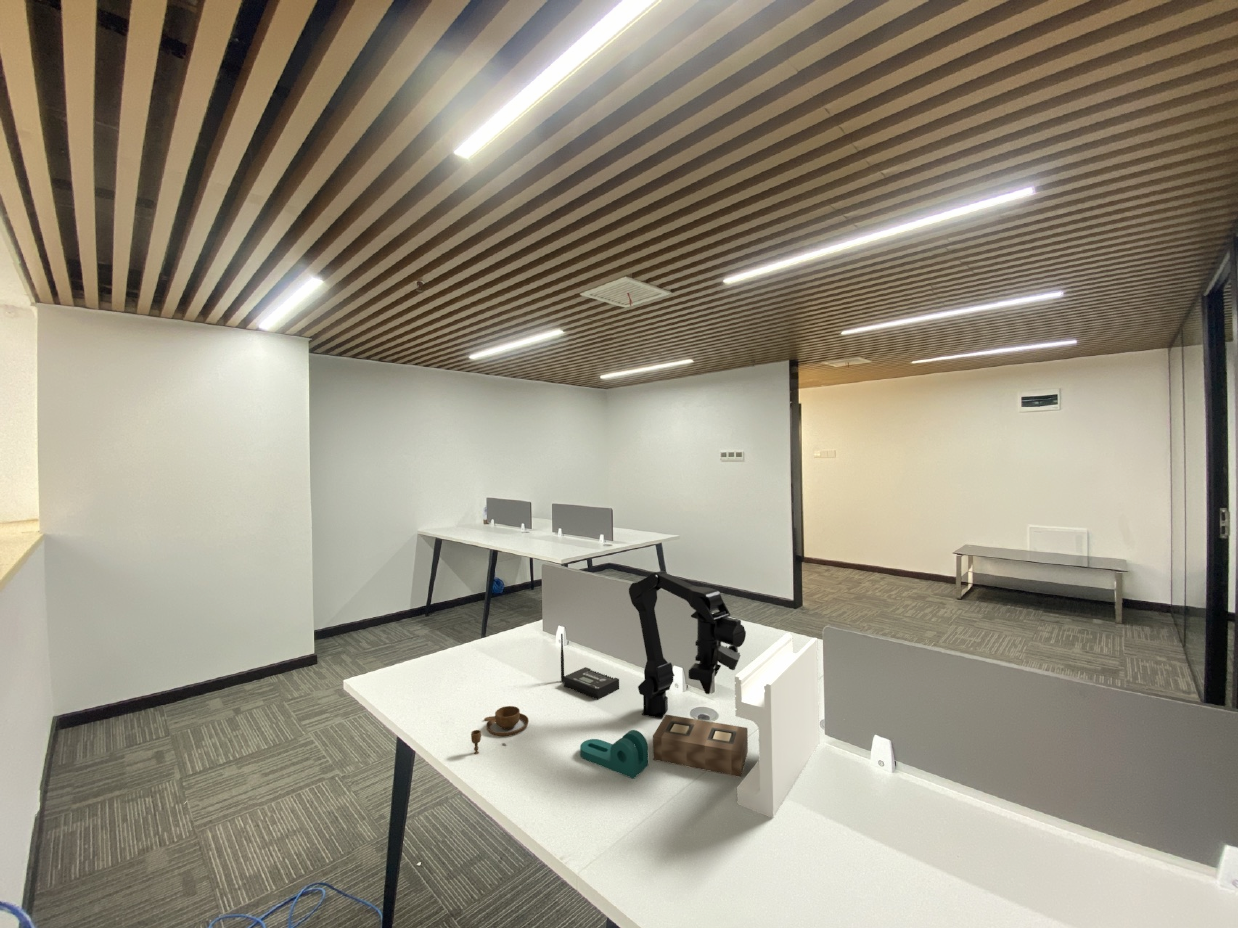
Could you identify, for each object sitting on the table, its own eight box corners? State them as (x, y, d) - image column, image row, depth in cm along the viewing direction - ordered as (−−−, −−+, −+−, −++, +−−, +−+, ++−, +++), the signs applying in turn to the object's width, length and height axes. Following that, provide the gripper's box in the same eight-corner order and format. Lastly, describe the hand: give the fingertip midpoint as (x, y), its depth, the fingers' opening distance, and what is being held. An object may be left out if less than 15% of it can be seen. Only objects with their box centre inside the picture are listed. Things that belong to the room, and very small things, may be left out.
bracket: (648, 765, 128) (647, 734, 128) (633, 779, 122) (633, 746, 122) (591, 744, 138) (590, 715, 138) (575, 756, 132) (574, 726, 132)
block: (773, 818, 108) (770, 684, 108) (737, 803, 112) (734, 676, 113) (819, 743, 136) (817, 638, 136) (789, 734, 141) (787, 632, 141)
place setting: (541, 733, 145) (541, 712, 145) (474, 759, 132) (474, 736, 132) (512, 711, 158) (512, 692, 158) (448, 733, 146) (448, 712, 146)
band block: (653, 759, 130) (652, 736, 130) (666, 736, 141) (665, 714, 141) (741, 777, 122) (740, 752, 122) (747, 750, 133) (747, 727, 133)
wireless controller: (622, 688, 173) (621, 637, 173) (593, 703, 162) (592, 649, 163) (581, 673, 186) (580, 626, 186) (552, 686, 176) (551, 636, 176)
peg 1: (670, 753, 132) (670, 731, 132) (674, 745, 136) (674, 723, 136) (685, 756, 131) (685, 733, 131) (689, 747, 135) (689, 726, 135)
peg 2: (713, 761, 128) (712, 738, 128) (716, 752, 132) (715, 730, 132) (729, 764, 127) (728, 741, 127) (731, 755, 131) (731, 733, 131)
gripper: (731, 653, 128) (731, 715, 128) (743, 629, 145) (743, 684, 145) (688, 646, 132) (687, 706, 132) (704, 624, 149) (704, 677, 150)
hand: (707, 693), depth 140 cm, fingers closed
